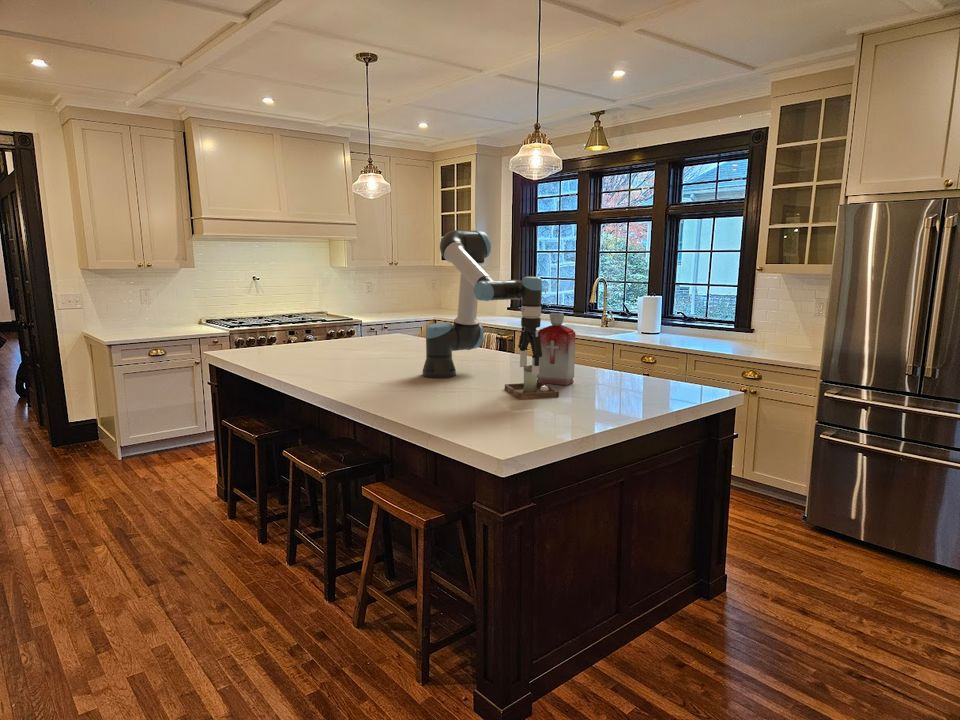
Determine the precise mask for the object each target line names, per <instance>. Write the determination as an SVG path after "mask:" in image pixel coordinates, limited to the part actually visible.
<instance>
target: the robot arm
mask: <svg viewBox="0 0 960 720" xmlns="http://www.w3.org/2000/svg"><path fill="white" fill-rule="evenodd" d="M491 245H492V244H491V240H490V237H489V236H488V234H487V233H486V232H484V231H482V230H457V229H456V230H451V231H448V232H447V233H445V234H444V235H443V236H442V237H441V239H440V243H439V251H440V254H441V255H442V257H443V258H444V260H446V261H447V262H448V263H451V264H452V265H453V266H454V267H455V268H456V269H457V270H458V272H460V279H459V280H460V281H459V291H458V293H459V294H458V306H457V317H455V318H454V319H453V324H452V323H451V322H449V321H448V322H446V321H445V322H436V323H432V324H430V325H427V327H426V330H425V345H426V346H425V349H426V351H425V355H426V356H425V358H426V359H425V362H424V365H423V368H422V376H423V377H425V378H432V379H445V378H452V377H455V376H456V375H457V369H456V366H455V364H454V360H453V352H456V351H457V352H458V351H465V350H466V351H467V350H468V351H471V350H474V349H477V348H479V347H480V346H481V344H482V343H483V340H484V330H483V327H482V325H481V324H480V321H479V320H478V318H477V313H478V302H479V301H481V302H482V301H485V302H489V301H499V300H500V301H508V300H511V301H512V300H519V301H521V308H520V311H521V316H522V317H521V319H520V322H521V323H520V326H521V333H520V336H519V341H518V346H517V348H518V349H519V351H520V352H519V367H520V368H524V366H528V346H529V344H530V348H531V352H532V356H531V358H532V359H531V365H532V374H539V360H540V357H542V349H541V342H540V332H539V330H537V329H538V328H540V327H541V321H542V320H541V319H542V318H541V316H542V294H543V293H542V292H543V286H542V285H543V280H542V278H541V277H539V276H524V277H522V280H518V279H507V280H494V279H493V278H492V277H491V276H490V275H489V274H488V273H487V272H486V271H485V269H483V268H482V265H483V264H484V263H485V259H486V258H488V257H489V256H490V254H491V250H492V246H491Z"/></svg>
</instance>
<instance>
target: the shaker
mask: <svg viewBox="0 0 960 720" xmlns="http://www.w3.org/2000/svg"><path fill="white" fill-rule="evenodd" d="M523 383H524V387H523V392H524V393H536V392H537V374H532V364H529V365H527V366H524V367H523Z"/></svg>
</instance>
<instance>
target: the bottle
mask: <svg viewBox="0 0 960 720" xmlns="http://www.w3.org/2000/svg"><path fill="white" fill-rule="evenodd" d="M549 318H550V319H549V321H550V324H551V325H548V326H546V327H543V328H540V329H539V330H538V331H539V332H540V342H541V349H542V357H540V360H539V374H537V382H542V383H544V384H546V385H549V384H550V385H555V386H556V385H557V386H565V387H566V386H569V385H571V384H574V382H575V381H574V377H575V361H576V360H575V359H576V332H575V331H574V329H572V328H570V327H568V326H565V325H562V324H563V323H564V319H565V315H564V313H560V312H552V313H550V314H549Z"/></svg>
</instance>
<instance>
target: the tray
mask: <svg viewBox="0 0 960 720" xmlns="http://www.w3.org/2000/svg"><path fill="white" fill-rule="evenodd" d="M543 385H545V386H547V387H548V388H549V392H540V387H541V386H543ZM523 387H524V382H523V383H521V382H520V383H508V384H507V383H505V384H504V390H505V391H507V392H508V393H509V394H510V395H512V396H514V397H515V398H516V399H518V400H529V399H530V400H533V399H547V398H548V399H549V398H559V395H560V394H559V393H560V392H559V391H558V390H556V389H554V388H553V387H551V386H549V385H548V384H546V383H542V382H537V392H536V393H524V392H523Z"/></svg>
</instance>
